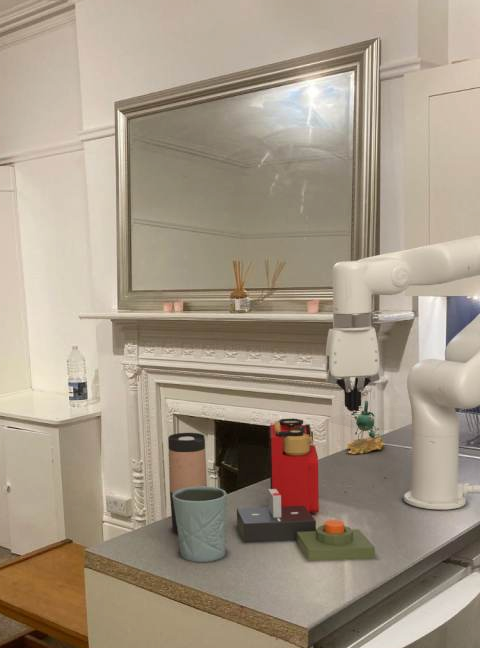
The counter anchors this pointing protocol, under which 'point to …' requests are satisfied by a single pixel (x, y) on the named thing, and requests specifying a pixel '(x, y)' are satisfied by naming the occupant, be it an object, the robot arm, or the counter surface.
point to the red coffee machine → (294, 464)
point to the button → (334, 527)
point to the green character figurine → (364, 424)
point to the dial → (274, 503)
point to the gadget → (273, 524)
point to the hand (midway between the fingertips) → (352, 410)
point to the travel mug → (186, 464)
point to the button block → (335, 545)
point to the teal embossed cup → (201, 522)
